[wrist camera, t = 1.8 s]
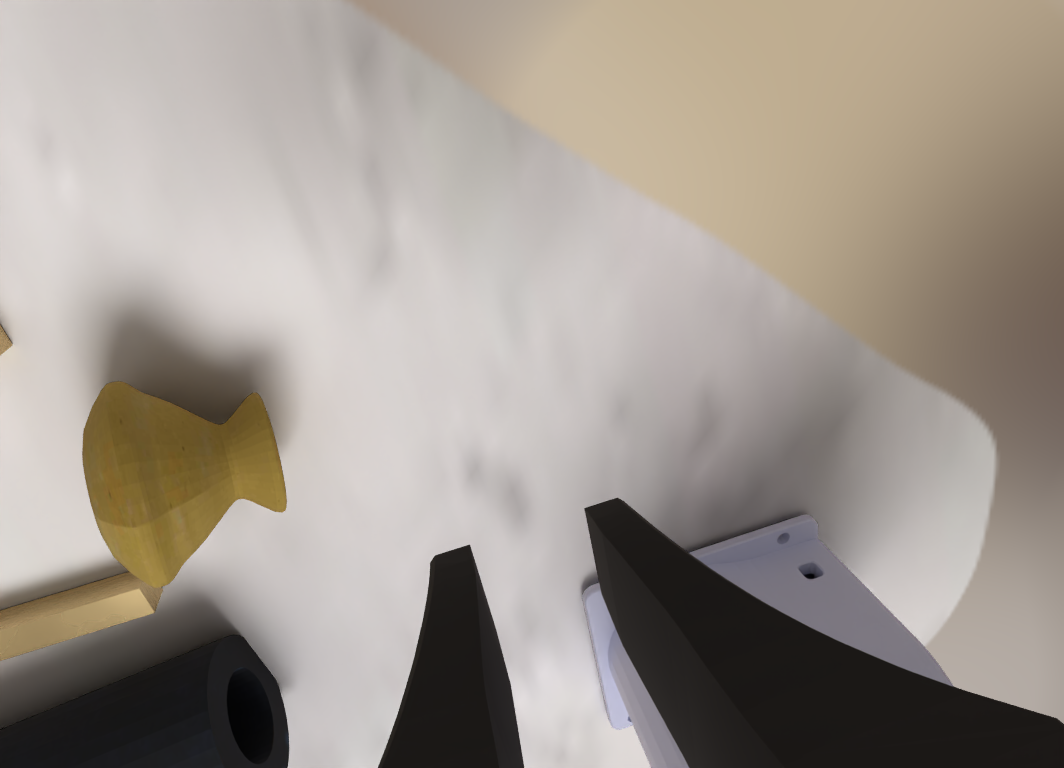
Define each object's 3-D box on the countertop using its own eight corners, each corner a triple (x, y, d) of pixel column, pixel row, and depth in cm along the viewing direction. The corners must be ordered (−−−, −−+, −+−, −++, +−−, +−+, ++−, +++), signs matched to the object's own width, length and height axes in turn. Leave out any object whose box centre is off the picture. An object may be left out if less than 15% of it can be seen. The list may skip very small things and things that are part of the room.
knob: (136, 516, 20) (74, 646, 15) (89, 353, 17) (1, 450, 13) (304, 496, 21) (292, 611, 16) (280, 340, 18) (258, 426, 14)
